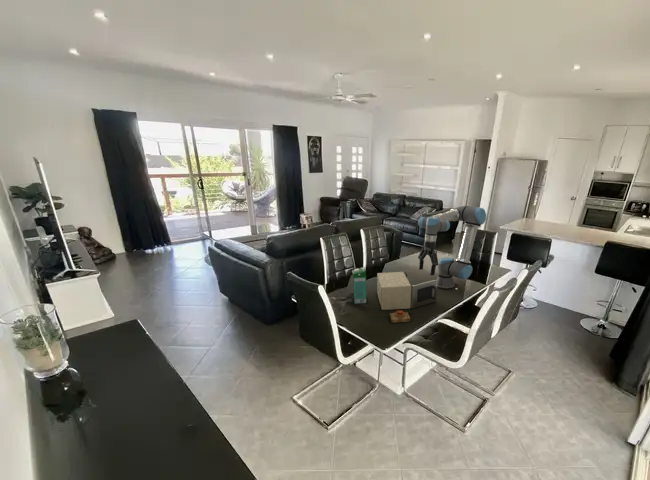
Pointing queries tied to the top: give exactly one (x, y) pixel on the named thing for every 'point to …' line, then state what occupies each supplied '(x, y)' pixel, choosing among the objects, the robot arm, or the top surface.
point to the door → (424, 293)
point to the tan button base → (399, 317)
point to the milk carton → (359, 285)
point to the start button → (399, 312)
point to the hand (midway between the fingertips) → (426, 272)
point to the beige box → (393, 290)
